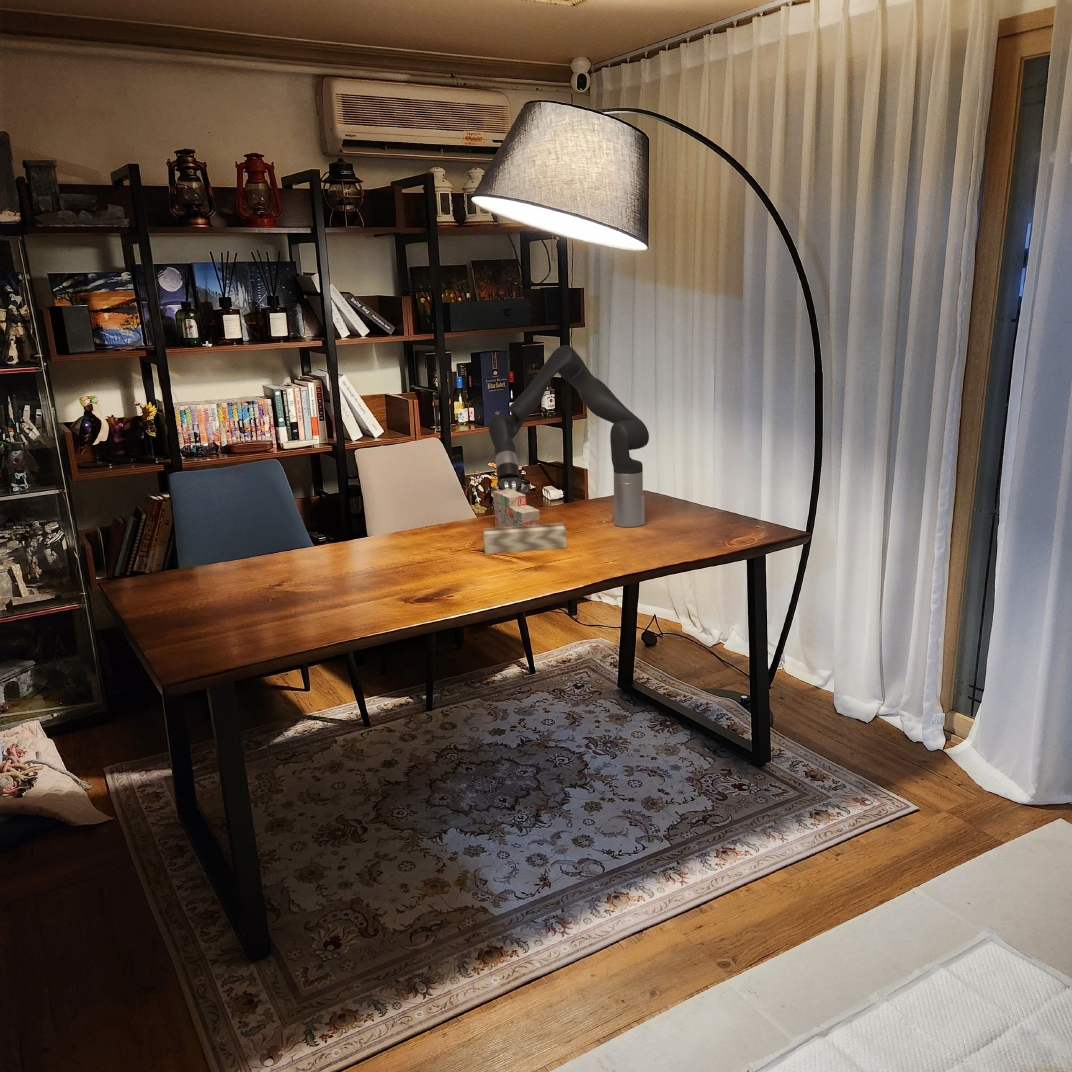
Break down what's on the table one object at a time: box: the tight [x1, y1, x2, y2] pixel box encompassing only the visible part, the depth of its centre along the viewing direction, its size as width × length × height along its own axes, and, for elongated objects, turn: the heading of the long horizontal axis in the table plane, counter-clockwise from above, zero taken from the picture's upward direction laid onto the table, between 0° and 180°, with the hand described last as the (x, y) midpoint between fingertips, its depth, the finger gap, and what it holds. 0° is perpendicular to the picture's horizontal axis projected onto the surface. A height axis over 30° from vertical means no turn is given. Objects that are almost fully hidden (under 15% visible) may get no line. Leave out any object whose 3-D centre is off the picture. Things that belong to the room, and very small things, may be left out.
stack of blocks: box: [492, 489, 541, 528], centre depth 289 cm, size 21×6×12 cm, turn 26°
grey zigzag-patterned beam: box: [482, 522, 567, 555], centre depth 272 cm, size 24×5×7 cm, turn 98°
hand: (512, 511), depth 301 cm, fingers closed
